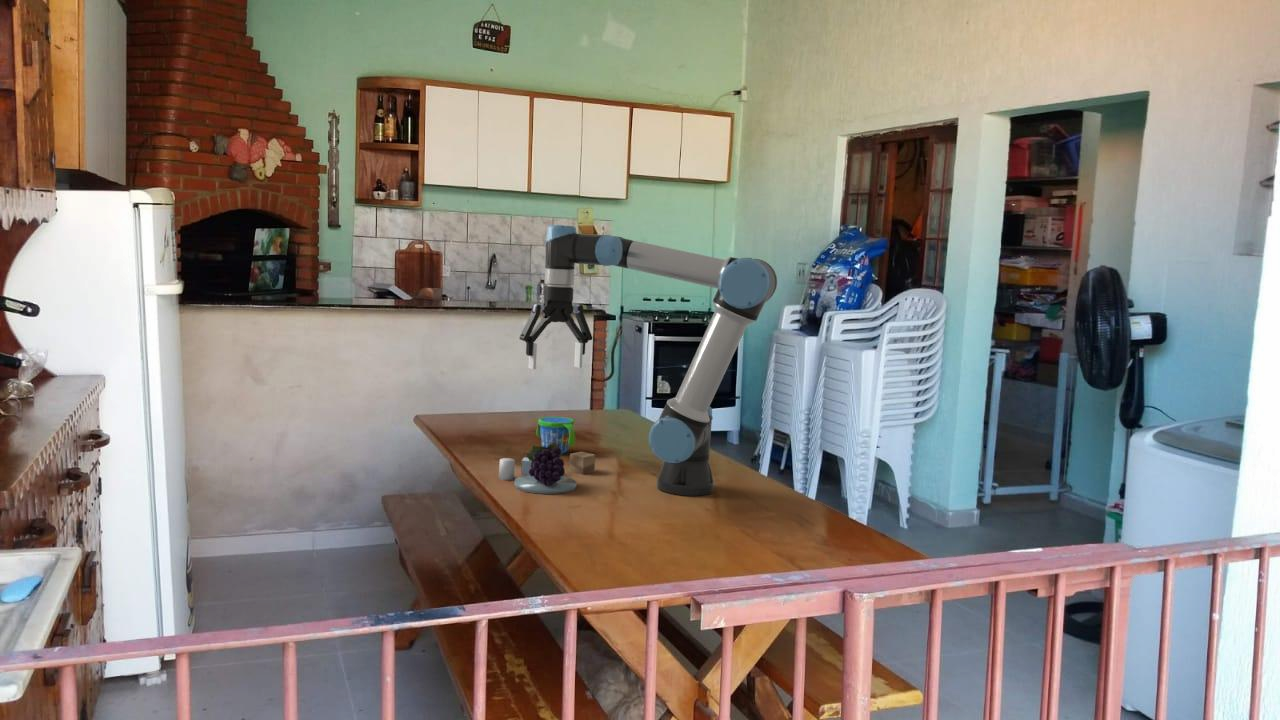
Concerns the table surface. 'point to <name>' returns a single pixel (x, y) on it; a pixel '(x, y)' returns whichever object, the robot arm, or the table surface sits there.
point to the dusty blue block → (525, 466)
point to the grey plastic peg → (506, 469)
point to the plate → (536, 486)
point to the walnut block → (582, 463)
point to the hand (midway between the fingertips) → (555, 368)
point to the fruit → (546, 463)
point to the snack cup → (556, 432)
